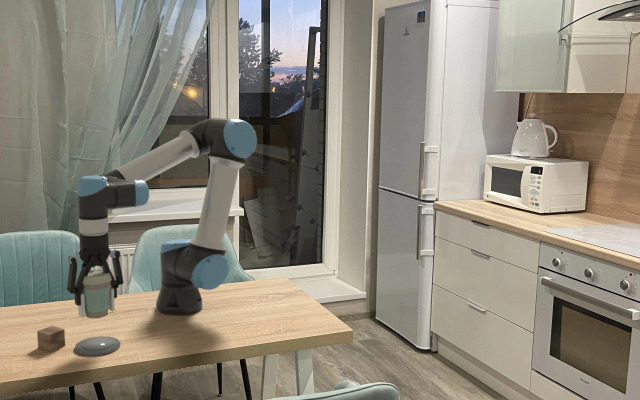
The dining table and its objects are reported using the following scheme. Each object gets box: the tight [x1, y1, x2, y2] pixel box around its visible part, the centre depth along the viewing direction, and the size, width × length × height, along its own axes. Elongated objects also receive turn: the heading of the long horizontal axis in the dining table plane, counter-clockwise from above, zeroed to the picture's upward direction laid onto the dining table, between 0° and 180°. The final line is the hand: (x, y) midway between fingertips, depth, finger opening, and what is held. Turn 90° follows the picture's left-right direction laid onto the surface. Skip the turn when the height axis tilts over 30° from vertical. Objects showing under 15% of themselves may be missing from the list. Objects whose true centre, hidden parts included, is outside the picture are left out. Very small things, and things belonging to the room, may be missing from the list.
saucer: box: [74, 335, 121, 357], centre depth 178 cm, size 12×12×1 cm
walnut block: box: [36, 325, 66, 353], centre depth 177 cm, size 5×5×5 cm
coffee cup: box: [82, 269, 112, 319], centre depth 176 cm, size 8×8×12 cm
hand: (96, 312), depth 177 cm, fingers closed on coffee cup, 8 cm apart
